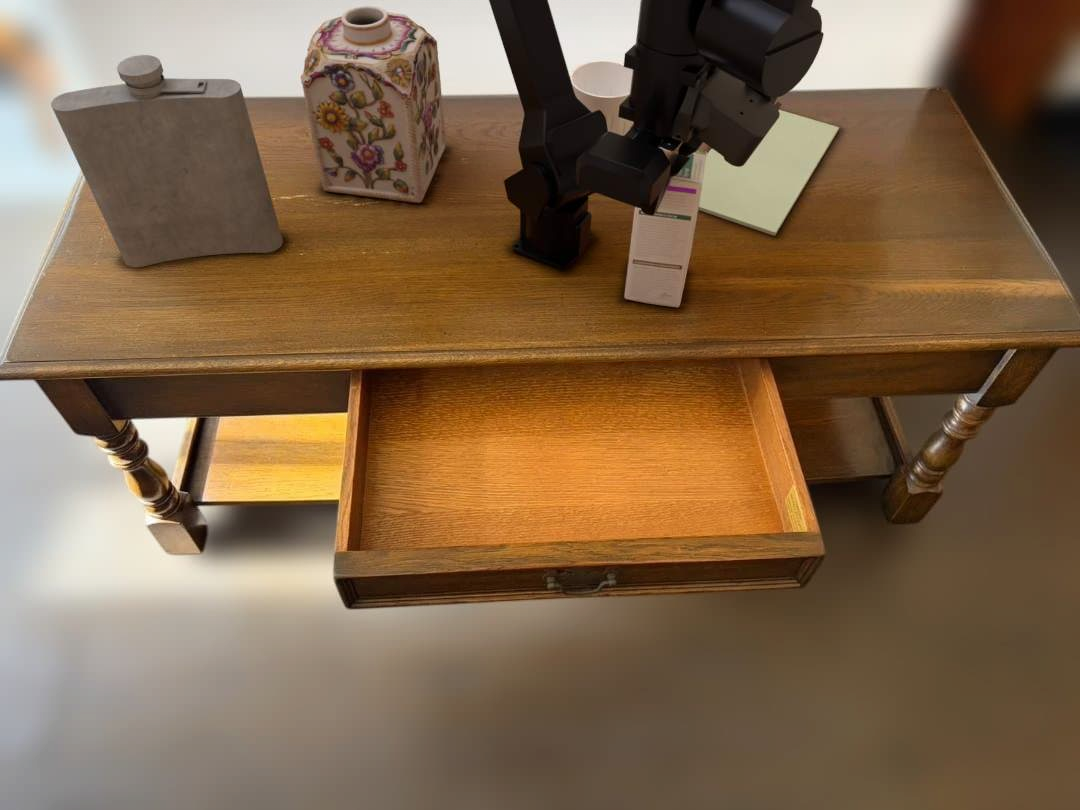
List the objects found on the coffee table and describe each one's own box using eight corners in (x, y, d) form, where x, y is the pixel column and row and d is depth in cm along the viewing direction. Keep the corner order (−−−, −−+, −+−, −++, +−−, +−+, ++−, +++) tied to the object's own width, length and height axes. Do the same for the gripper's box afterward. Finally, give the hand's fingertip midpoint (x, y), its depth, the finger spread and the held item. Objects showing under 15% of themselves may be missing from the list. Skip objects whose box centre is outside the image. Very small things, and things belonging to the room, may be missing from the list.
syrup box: (680, 309, 82) (707, 183, 71) (621, 300, 83) (638, 174, 72) (685, 272, 86) (711, 147, 75) (628, 264, 87) (646, 139, 76)
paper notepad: (672, 201, 94) (673, 197, 93) (747, 103, 107) (748, 100, 107) (774, 236, 90) (775, 232, 90) (838, 130, 104) (839, 127, 103)
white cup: (614, 184, 95) (622, 104, 88) (554, 163, 98) (557, 84, 90) (643, 151, 100) (653, 72, 92) (585, 131, 102) (590, 53, 95)
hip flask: (122, 269, 84) (34, 84, 69) (126, 244, 87) (43, 60, 72) (283, 251, 87) (232, 68, 71) (282, 227, 89) (233, 45, 74)
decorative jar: (422, 206, 92) (405, 49, 78) (321, 194, 93) (286, 36, 79) (448, 146, 100) (436, -7, 86) (354, 135, 101) (328, -18, 87)
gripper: (732, 129, 53) (692, 308, 65) (822, 15, 64) (773, 187, 75) (578, 80, 56) (567, 260, 68) (687, -20, 67) (661, 150, 79)
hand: (649, 212), depth 73 cm, fingers closed
